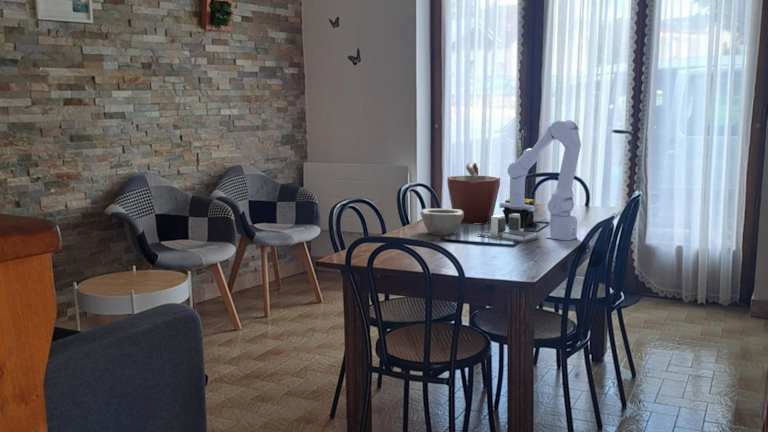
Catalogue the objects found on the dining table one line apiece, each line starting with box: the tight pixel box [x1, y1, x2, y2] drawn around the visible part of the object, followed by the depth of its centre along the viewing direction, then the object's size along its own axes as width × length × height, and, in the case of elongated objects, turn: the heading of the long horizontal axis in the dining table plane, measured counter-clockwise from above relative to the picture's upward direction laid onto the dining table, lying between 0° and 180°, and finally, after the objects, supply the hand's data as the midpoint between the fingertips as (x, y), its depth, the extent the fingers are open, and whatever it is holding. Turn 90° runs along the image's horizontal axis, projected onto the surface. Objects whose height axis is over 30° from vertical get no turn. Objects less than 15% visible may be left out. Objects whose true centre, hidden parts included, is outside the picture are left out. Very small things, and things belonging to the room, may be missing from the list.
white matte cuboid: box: [508, 213, 525, 232], centre depth 281 cm, size 4×5×7 cm
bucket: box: [446, 162, 501, 225], centre depth 306 cm, size 24×22×25 cm
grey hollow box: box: [477, 214, 539, 243], centre depth 271 cm, size 20×11×8 cm, turn 51°
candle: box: [504, 198, 535, 226], centre depth 302 cm, size 10×10×10 cm
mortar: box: [420, 207, 464, 236], centre depth 278 cm, size 17×17×9 cm
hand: (516, 227), depth 282 cm, fingers closed on white matte cuboid, 5 cm apart
